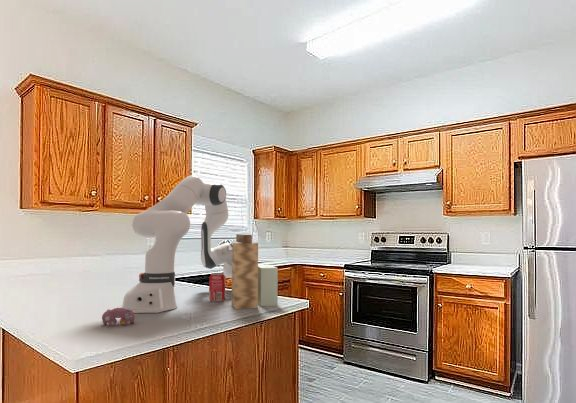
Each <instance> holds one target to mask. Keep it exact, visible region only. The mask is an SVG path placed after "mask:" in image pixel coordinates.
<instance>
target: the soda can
mask: <svg viewBox="0 0 576 403" xmlns="http://www.w3.org/2000/svg"><path fill="white" fill-rule="evenodd" d="M208 281H209V282H208V300H209V301H210V302H213V303H220V302H223V301H224V300H225V298H226V276H225V275H224V273H223V272H212V273H210V276H209V280H208Z"/></svg>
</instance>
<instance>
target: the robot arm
mask: <svg viewBox="0 0 576 403" xmlns="http://www.w3.org/2000/svg"><path fill="white" fill-rule="evenodd" d="M226 199H227V191H226V188H225V187H224V185H223V184H221V183H217V182H214V183H213V182H209V181H203V180H202V179H201V178H200V177H198V176H196V175H188V176H186V177H185V178H183V179H182V180H181V181H180V182H178V183H177V184H176V186H174V188H173V189H172V190H171V191H170V192H169V193H168V194H167V195H166V196H165V197H164V198H163V199H161V200H160V201H158V202H157V203H155V204H154V205H152V206H151V207H150V208H147V209H146V210H144V211H140V212H139V213H137V214H136V215H135V216H134V217H133V220H132V229H133V232H134V233H135V234H136V235H138V236H141V237H145V238H155V242H154V244H153V245H152V247H151V248H149V249H148V250H146V254H145V261H144V262H145V263H144V272H140V273H139V275H138V277H139V279H138V281H139V282H138V283H137V284H135V285H134V286H133V287H132V288H131V289H129V290H128V291H127V292H126V293H125V294H124V297H123V299H122V304H121V305H118V306H117V307H116V308H124V309H128V308H129V309H130V310H132V311H133V313H134V314H143V313H144V314H145V313H147V314H151V313H154V314H155V313H162V312H165V311H172V310H175V309H177V308H178V305H177V301H176V294H175V284H176V272H175V258H176V256H175V255H176V251H177V248H178V245H179V243H180V241H181V239H182V238H183V237H184V236H186V235H187V234H188V232H189V230H190V228H191V220H190V217H189V216H188V213H189V211H190V210H191V209H192V208H193V206H194V205H200V206H201V205H202V206H204V209H205V217H204V218H205V219H204V221H203V222H202V223H201V228H200V231H201V232H200V234H201V235H200V236H201V237H200V239H201V240H200V241H201V243H200V244H201V250H200V251H201V252H200V260H201V264H202V266H203V267H204V268H206V269H210V270H212V269H214V268H216V267H217V266H221V265H223V268H222V273H224V276H225V278H228V279H232V246H233V243H231V242H224V243H221V244H219V245H217V246H215V247H211V246H212V244H211V243H212V242H211V241H212V236H213V234H214V233H215V232H216V231H217V230H218V229H220V228H221V227H223V226H224V225H225V224H226V222H227V221H228V219H229V209H228V204H227V200H226Z"/></svg>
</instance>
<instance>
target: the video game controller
mask: <svg viewBox="0 0 576 403" xmlns="http://www.w3.org/2000/svg"><path fill="white" fill-rule="evenodd" d="M135 318H136V317H135V313H133V311H132V310H130V309H129V308H128V309H124V308H117V307H116V308H115V307H114V308H112V309H110V308H109V309H107V310H106V311H104V312H103V313H102V316H101V319H102V324H103V326H105V325H107V324H108V325H109V326H110V327H114V326H116V325H117V323H118V320H117V319H120V320H119V325H120V326H126V325H127V324H128V323H129V322H130V323H131V324H134V323H135Z"/></svg>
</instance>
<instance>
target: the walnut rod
mask: <svg viewBox="0 0 576 403" xmlns="http://www.w3.org/2000/svg"><path fill="white" fill-rule="evenodd" d="M235 235H236V236H235V237H236V239H235V240H236V241H235V242H240V243H252V242H253V234H245V233H241V234H238V233H237V234H235Z"/></svg>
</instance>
